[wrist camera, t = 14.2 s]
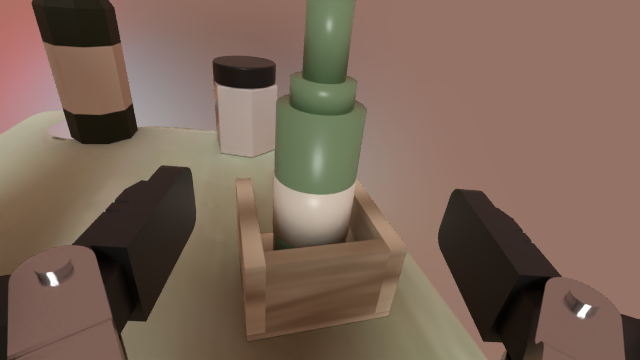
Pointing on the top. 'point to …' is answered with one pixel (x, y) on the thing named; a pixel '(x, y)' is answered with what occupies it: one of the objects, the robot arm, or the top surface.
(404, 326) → the top surface
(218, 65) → the jar
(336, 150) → the green bottle
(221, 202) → the top surface
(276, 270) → the cradle
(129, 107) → the wine bottle
